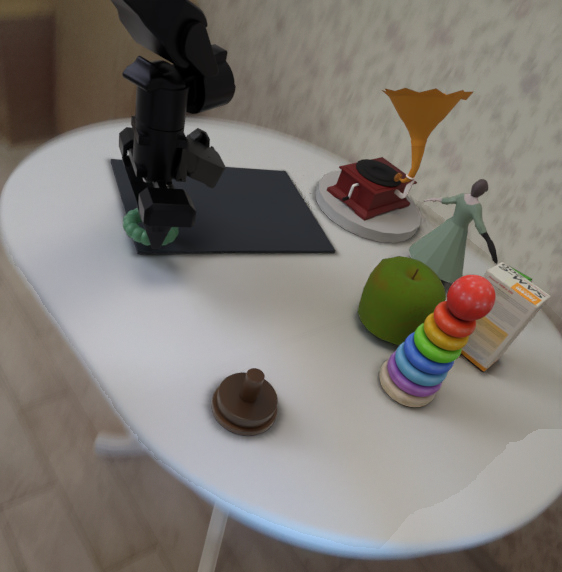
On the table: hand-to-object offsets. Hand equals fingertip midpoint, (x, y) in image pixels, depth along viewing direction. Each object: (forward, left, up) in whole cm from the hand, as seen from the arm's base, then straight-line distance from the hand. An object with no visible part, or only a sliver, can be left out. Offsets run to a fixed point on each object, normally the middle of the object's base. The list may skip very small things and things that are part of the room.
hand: (150, 231), depth 72 cm
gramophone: (+43, +11, -3) cm, 44 cm away
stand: (+5, -30, -2) cm, 31 cm away
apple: (+31, -19, -3) cm, 36 cm away
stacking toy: (+28, -30, -3) cm, 41 cm away
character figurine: (+46, -9, -3) cm, 47 cm away
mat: (+14, +10, -2) cm, 17 cm away
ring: (0, 0, 0) cm, 0 cm away
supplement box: (+43, -25, -3) cm, 50 cm away
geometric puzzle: (+56, -16, -3) cm, 58 cm away
